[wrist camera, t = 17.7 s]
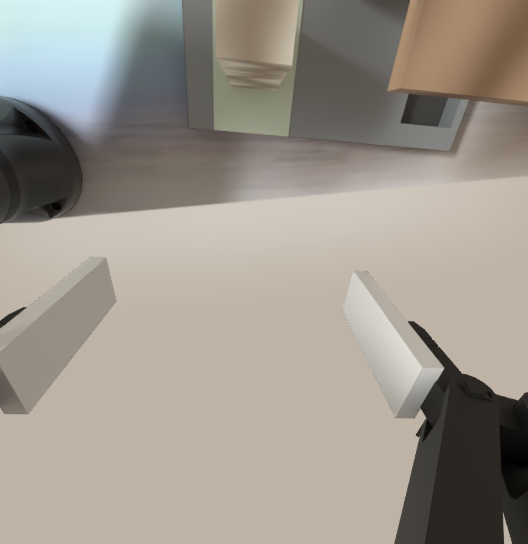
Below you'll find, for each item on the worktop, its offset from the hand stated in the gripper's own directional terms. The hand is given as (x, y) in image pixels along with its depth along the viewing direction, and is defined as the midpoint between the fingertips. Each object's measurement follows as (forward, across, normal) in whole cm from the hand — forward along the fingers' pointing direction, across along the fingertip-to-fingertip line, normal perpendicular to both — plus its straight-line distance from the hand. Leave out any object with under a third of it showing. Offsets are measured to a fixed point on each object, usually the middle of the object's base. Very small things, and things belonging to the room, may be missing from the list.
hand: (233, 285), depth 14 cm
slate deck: (+27, +10, +14) cm, 32 cm away
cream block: (+24, 0, +14) cm, 28 cm away
